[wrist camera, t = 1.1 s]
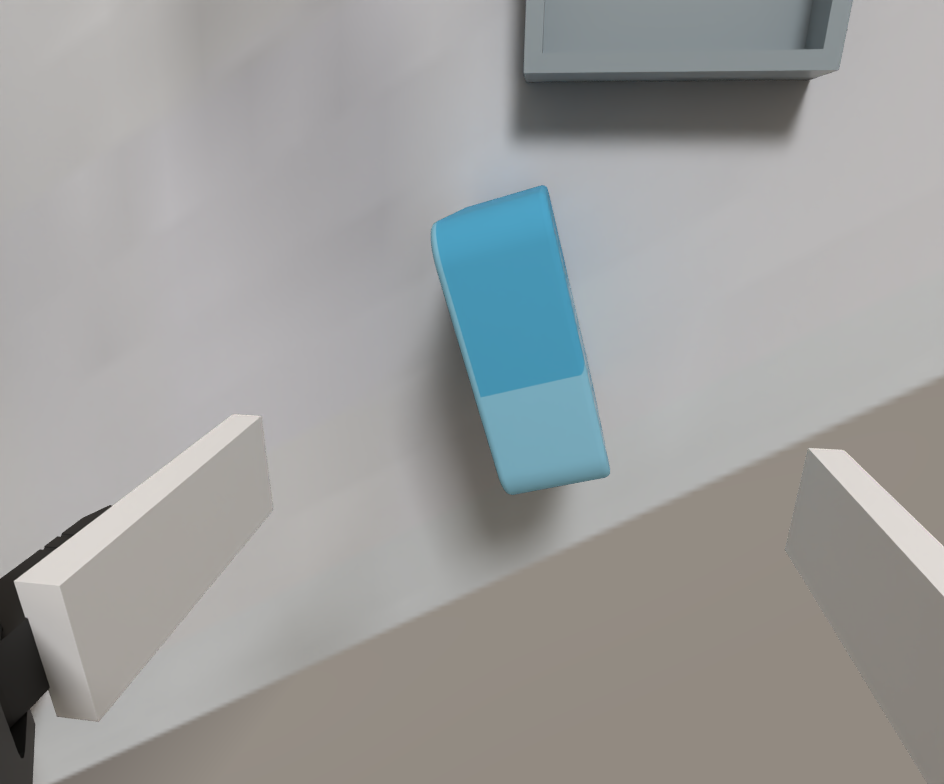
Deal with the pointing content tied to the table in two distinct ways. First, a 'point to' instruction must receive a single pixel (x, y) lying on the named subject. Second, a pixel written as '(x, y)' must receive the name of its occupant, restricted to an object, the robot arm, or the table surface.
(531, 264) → the data package
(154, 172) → the table surface
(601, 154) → the table surface
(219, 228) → the table surface
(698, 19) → the tray
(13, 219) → the table surface
